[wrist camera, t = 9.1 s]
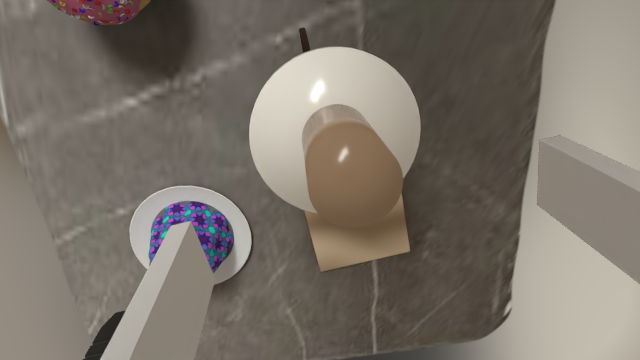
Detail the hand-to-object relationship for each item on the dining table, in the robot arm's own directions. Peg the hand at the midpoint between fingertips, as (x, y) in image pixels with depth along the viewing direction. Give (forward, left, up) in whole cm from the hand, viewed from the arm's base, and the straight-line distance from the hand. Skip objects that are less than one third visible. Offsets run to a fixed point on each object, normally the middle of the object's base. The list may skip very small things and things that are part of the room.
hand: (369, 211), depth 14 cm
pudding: (+11, -16, -23) cm, 30 cm away
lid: (0, 0, -12) cm, 12 cm away
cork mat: (+13, +1, -22) cm, 26 cm away
